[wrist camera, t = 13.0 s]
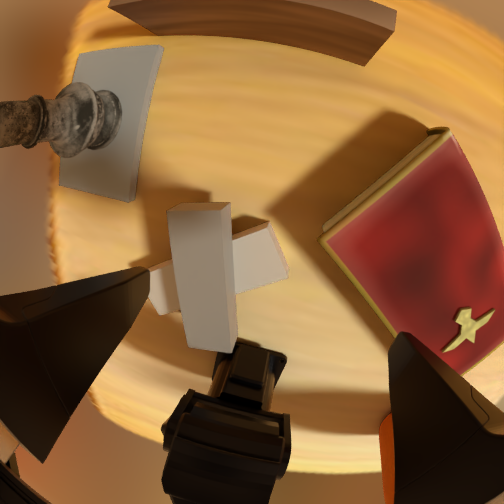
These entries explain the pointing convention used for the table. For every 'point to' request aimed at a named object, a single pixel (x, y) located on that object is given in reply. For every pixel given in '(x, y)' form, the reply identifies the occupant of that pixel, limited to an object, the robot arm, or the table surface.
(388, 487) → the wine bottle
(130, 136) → the slate mat
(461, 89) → the table surface
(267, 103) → the table surface
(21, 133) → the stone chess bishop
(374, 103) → the table surface
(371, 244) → the hardcover book
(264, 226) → the bottom offcut
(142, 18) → the long thin taupe batten
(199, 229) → the top offcut
